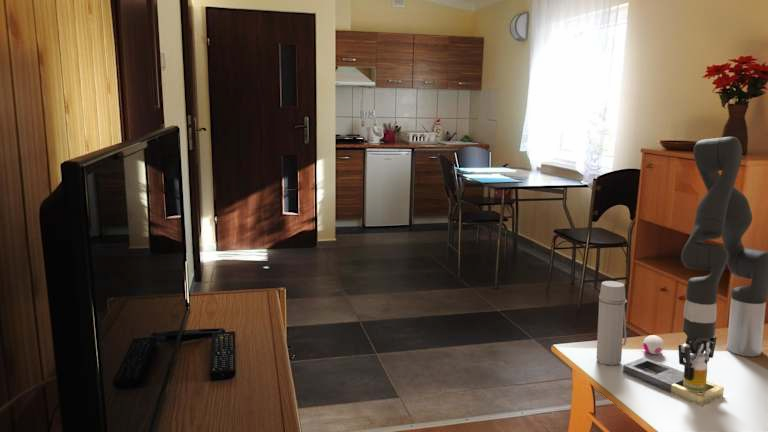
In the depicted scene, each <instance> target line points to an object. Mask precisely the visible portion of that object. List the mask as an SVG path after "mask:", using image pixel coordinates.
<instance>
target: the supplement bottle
mask: <svg viewBox="0 0 768 432" xmlns="http://www.w3.org/2000/svg"><path fill="white" fill-rule="evenodd" d="M690 355H693V356H695V354H692V353H690ZM690 360H691V361H692V358H690ZM704 361H705V355H704V354H702V353H700V356H699V359H698V360H696V362H695V365H694V379H693V380H691V381H690V380H688V379H685V378H684V379H683V386H684V387H685V388H687V389H690V390H692V391H695V392H697V393H703V392H704V391H705V389H706V381H707V376H708V363H707V364H706V363H705V362H704ZM683 366H684V365H683ZM683 369H684V370H685V366H684V367H683ZM684 370H683V371H684Z"/></svg>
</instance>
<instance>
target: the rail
mask: <svg viewBox="0 0 768 432" xmlns="http://www.w3.org/2000/svg"><path fill="white" fill-rule="evenodd" d="M645 370H650V371H653V372H654V373H657V374H652V373H649V372H647V371H645ZM622 374H625V375H627V376H629V377H631V378H634V379H637V380H638V381H641V382H643V383H645V384H648V385H650V386H652V387H655V388H657V389H659V390H662V391H664V392H667V393H669V394H671V395H674V396H676V397H677V398H678V397H679V398H681V399H683V400H685V401H688V402H690V403H692V404H694V405H697V406H700V407H704V406H706V405H708V404H710V403H713V402H715V401H716V400H718V399H721V398H722V397H724V389H725V387H724V386H721V385H718V384H716V383H712V382H710V381H708V380H706V389H705V391H704V392H695V391H692V390H690V389H687V388H685V387H684V386H683V379H684V371H681V370H679V369H677V368H673V367H671V366H668V365H666V364H663V363H660V362H658V361H657V360H656V361H655V360H652V359H650V358H648V357H642V358H639V359H636V360H633V361H630V362H628V363H625V364H623V365H622Z"/></svg>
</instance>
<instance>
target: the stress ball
mask: <svg viewBox="0 0 768 432" xmlns="http://www.w3.org/2000/svg"><path fill="white" fill-rule="evenodd" d="M664 343H665V342H664V340H663V339H662V338H661V337H660V336H659V335H655V334H652V335H651V334H650V335H647V336H646V337H645V338H644V340H643V342H642V347H643V349H644V350H645V351H640V352H642V353H648V354H650V355H657V354H659V353H660V354H661V355H663V352H662V351H663V350H664V348H665V347H664V346H665V344H664Z"/></svg>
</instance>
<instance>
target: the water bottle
mask: <svg viewBox="0 0 768 432" xmlns="http://www.w3.org/2000/svg"><path fill="white" fill-rule="evenodd" d="M625 286H626V284H624V283H623V282H621V281H615V280H605V281H602V282H601V283H600V291H599V295H598V299H599V300H598V317H597V319H598V320H597V339H596V340H597V341H596V360H597V361H598V362H599V363H600V364H603V365H606V366H617V365H620V364H621V362H622V353H623V346H626V343H627V321H626V319H627V318H626V304H627V302H628V300H627V299H626V287H625ZM623 334H624V335H623ZM623 337H624V339H623Z"/></svg>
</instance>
